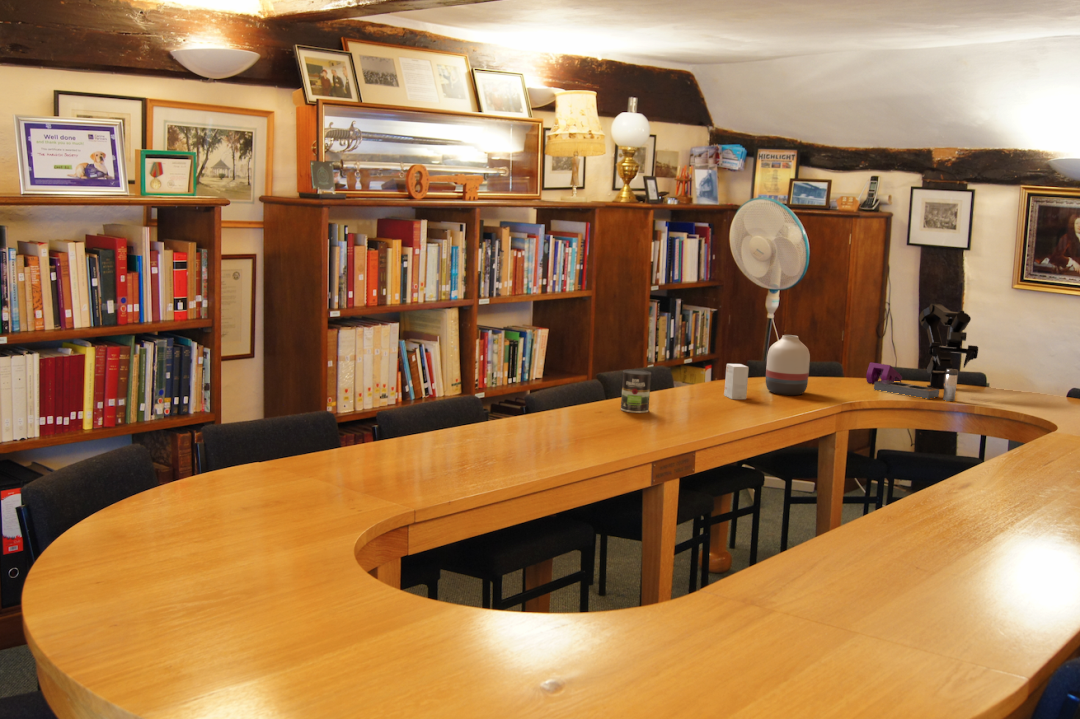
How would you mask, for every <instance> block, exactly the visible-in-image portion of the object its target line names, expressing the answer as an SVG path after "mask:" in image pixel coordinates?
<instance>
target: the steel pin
mask: <svg viewBox="0 0 1080 719" xmlns="http://www.w3.org/2000/svg"><path fill="white" fill-rule="evenodd" d="M958 376H959V369H955V368H952V369H946V374H945V381H944V388H943V395H942V396H943V397H942V398H943V399H942V401H943V400H946V401H945V402H947V401H955V400H956V392H957V383H958Z"/></svg>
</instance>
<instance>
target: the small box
mask: <svg viewBox="0 0 1080 719" xmlns="http://www.w3.org/2000/svg"><path fill="white" fill-rule="evenodd" d="M725 366H726V368H725V380H724V381H725V382H724V392H723V396H725V397H727V398H729V399H730V400H747V396H748V395H747V393H748V380H749V379H748V378H749V366H747V365H744V364H742V363H726V365H725Z"/></svg>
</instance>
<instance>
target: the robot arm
mask: <svg viewBox="0 0 1080 719" xmlns="http://www.w3.org/2000/svg"><path fill="white" fill-rule="evenodd" d="M918 318H919V322H920V325H921V327H923V329H925V330H926V333H927V336H928V340H929V341H928V342H929V349H928V354H929V355H930V356H931V358H930V362H929V363H928V365H927V367H926V372H927V374H930V383H929V384H927V385H926V387H930V388H936V389H939V390H941V389H944V386H945V377H946V369H953V362H952V358H951V355H950V353H953V354H963V355H965V358H964V362H963V368H964V369H965V368H966V366H967V365H968V364H969V362H970V361H971V360H972V361H973V360H975V359H977V358H978V354H979V347H978V345H971V344H968V345H967V348H963V347H962V344H963V342H966V341H967V331H965V330H966V329H967V327H968V325H969V323H970V322H971V321H972V320H971V319H972V318H971V316H970V315H969V314H968V313H967V312H965V310H958V312H957V311H951V310H950V309H948V308H946V307H945V306H944V305H943V304H941V303H931V304H930V305H929V306H928V307H926V308H924V309H922V311H921V312H920V313H919V317H918ZM940 322H941V324H943V326H948V327H947V333H946V345H945V346H944V345H943V343H942V337H941V334H940V329H939V324H940Z"/></svg>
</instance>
